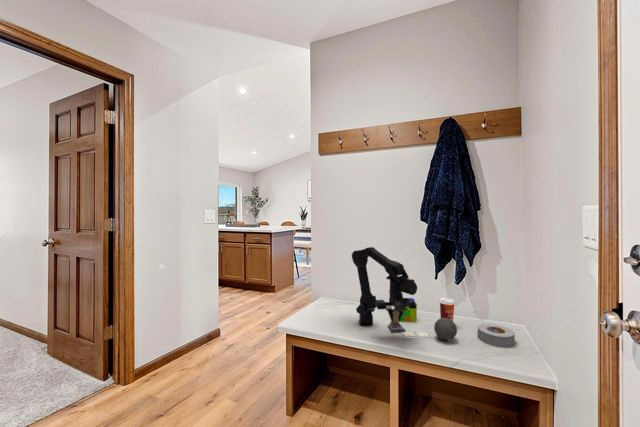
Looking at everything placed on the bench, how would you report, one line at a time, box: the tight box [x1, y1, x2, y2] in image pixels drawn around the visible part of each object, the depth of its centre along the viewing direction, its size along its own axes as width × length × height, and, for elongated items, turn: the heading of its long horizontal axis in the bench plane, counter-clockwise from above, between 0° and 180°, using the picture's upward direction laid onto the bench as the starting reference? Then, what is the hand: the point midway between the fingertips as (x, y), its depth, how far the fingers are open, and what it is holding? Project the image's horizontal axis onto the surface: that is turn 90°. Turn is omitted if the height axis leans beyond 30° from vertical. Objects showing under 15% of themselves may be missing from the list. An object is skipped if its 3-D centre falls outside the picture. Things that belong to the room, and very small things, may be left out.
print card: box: [400, 329, 433, 339], centre depth 153 cm, size 13×8×1 cm, turn 94°
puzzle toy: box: [400, 297, 418, 323], centre depth 174 cm, size 10×10×10 cm
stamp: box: [389, 307, 402, 328], centre depth 150 cm, size 4×4×9 cm
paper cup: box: [439, 297, 456, 322], centre depth 163 cm, size 8×8×14 cm
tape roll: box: [477, 323, 516, 348], centre depth 147 cm, size 15×15×5 cm
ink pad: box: [387, 323, 406, 334], centre depth 159 cm, size 7×7×2 cm
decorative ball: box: [433, 317, 458, 341], centre depth 148 cm, size 10×10×10 cm
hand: (395, 321), depth 150 cm, fingers closed on stamp, 3 cm apart
